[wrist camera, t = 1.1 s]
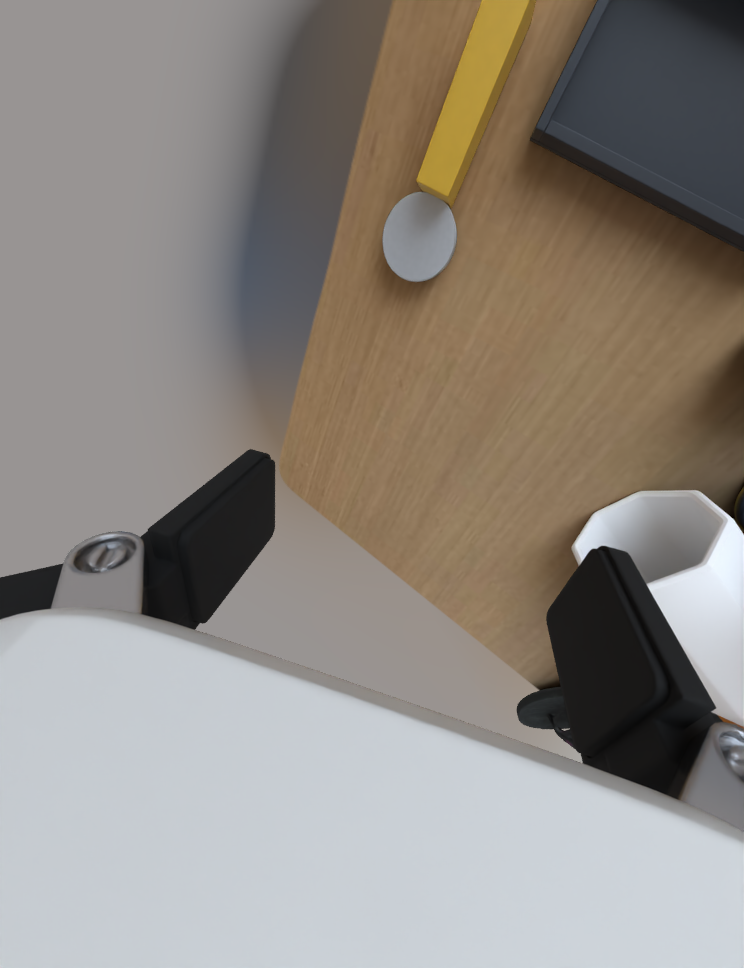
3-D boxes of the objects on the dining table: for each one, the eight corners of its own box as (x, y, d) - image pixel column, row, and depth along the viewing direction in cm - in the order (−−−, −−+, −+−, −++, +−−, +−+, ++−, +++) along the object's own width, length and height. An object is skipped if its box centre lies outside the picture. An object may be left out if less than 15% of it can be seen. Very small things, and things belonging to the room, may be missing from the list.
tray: (529, 140, 22) (535, 127, 20) (632, -70, 17) (652, -113, 15) (772, 266, 22) (800, 266, 20) (936, 92, 18) (993, 70, 16)
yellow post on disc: (473, -10, 19) (474, -75, 16) (554, 33, 20) (574, -22, 16) (377, 263, 27) (363, 261, 24) (435, 293, 27) (430, 296, 24)
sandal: (733, 721, 43) (767, 779, 39) (527, 722, 54) (533, 768, 49) (726, 671, 39) (763, 729, 34) (504, 683, 50) (509, 729, 45)
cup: (725, 595, 37) (638, 473, 33) (880, 676, 26) (782, 510, 22) (640, 658, 38) (546, 549, 34) (755, 761, 27) (639, 619, 23)
